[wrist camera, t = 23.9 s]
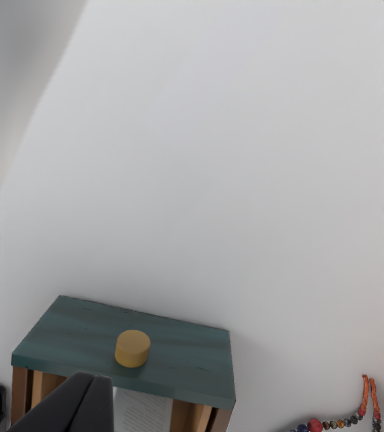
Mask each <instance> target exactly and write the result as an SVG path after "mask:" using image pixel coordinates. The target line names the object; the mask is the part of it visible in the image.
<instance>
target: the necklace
mask: <svg viewBox="0 0 384 432" xmlns="http://www.w3.org/2000/svg"><path fill="white" fill-rule="evenodd" d="M363 378H364V382H365V388H364V393H363V395H364V396H363V404H361V406H360V408H359V412H356V413H355V416H351V417H350V420H349V419H344V421H342V420H338V421H337V423H336V422H335V421H333V420H332V421H330V424H329V423H328V422H326V421H325V422H323V424H322V423H321V422H320V421H319V420H317V419H312V420H310V421H309V422H308V424H307V426H305V425H304V424H300V425H299V426H298V427H297V431H296V430H290V431H289V432H309V431H310V432H321V431H322V430H323V428H324V429H325V430H328V429H329V428H330V427H331V428H332V429H336V428H337V427H339V428H343V427H344V426H346V427H350V426H351V423H352V424H357V423H358V420H362V418H363V416H364V415H365V413H366V409H367V408H366V406H367V400H368V399H367V397H368V395H367V394H368V391H369V381H370V384H371V394H372V395H371V397H372V398H373V405H374V407H375V408H374V416H375V417H373V422H374V423H373V428H374V429H373V432H380V429H381V426H380V423H381V420H380V411H379V407H378V404H377V397H376V395H375V392H376V389H375V388H376V386H375V384H374V380H373V379H370V380H369V381H368V378H367V376H366V375H363ZM357 419H358V420H357ZM307 427H308V428H307Z"/></svg>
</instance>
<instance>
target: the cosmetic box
mask: <svg viewBox="0 0 384 432" xmlns="http://www.w3.org/2000/svg"><path fill="white" fill-rule="evenodd" d="M172 405H173V399H172V398H167V397H162V396H157V395H152V394H147V393H143V392H138V391H133V390H128V389H123V388H118V387H113V406H114V432H170V423H171V414H172Z"/></svg>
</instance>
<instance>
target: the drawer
mask: <svg viewBox="0 0 384 432" xmlns="http://www.w3.org/2000/svg"><path fill="white" fill-rule="evenodd" d="M11 365H12V366H17V367H21V368H26V369H31V370H34V378H33V392H32V407H31V409H32V408H34V407H35V406H36V405H37V404H38V403H39V402H41V401H42V400H43V399H44V398H45V397H46V396H48V395H49V394H50V393H51V392H52V391H53V390H55V389H56V388H57V387H58V386H59V385H61V384H62V383H63V382H64V381H65V380H66V379H68V378H69V377H70V376H71V375H72V374H73V373H75V372H76V371H84V372H88V373H92V374H94V376H95V375H103V376H108V377H111V378H112V380H113V387H118V388H123V389H128V390H133V391H138V392H143V393H147V394H152V395H157V396H162V397H167V398H172V399H173V405H172V414H171V423H170V432H205V430H206V426H207V423H208V420H209V417H210V413H211V410H212V407H215V408H220V409H225V410H230V411H232V409H233V406H234V403H235V390H234V380H233V369H232V359H231V349H230V339H229V331H226V330H221V329H216V328H212V327H207V326H202V325H197V324H193V323H188V322H183V321H179V320H174V319H169V318H164V317H160V316H155V315H150V314H145V313H141V312H136V311H131V310H127V309H122V308H117V307H112V306H108V305H103V304H98V303H93V302H89V301H84V300H79V299H75V298H70V297H65V296H59V297H58V298H57V299H56V300H55V301H54V303H53V304H52V305H51V306H50V308H49V309H48V310H47V311H46V312H45V314H44V315H43V316H42V317H41V318H40V320H39V321H38V322H37V323H36V325H35V326H34V327H33V328H32V329H31V331H30V332H29V333H28V334H27V336H26V337H25V338H24V339H23V340H22V342H21V343H20V344H19V345H18V347H17V348H16V349H15V350H14V351H13V353H12V360H11Z"/></svg>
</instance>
